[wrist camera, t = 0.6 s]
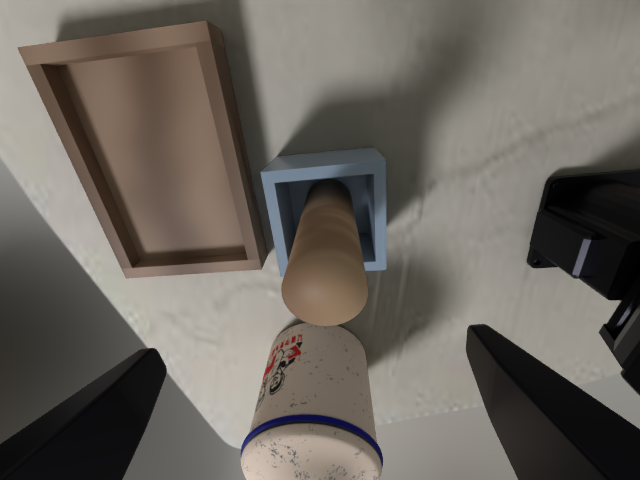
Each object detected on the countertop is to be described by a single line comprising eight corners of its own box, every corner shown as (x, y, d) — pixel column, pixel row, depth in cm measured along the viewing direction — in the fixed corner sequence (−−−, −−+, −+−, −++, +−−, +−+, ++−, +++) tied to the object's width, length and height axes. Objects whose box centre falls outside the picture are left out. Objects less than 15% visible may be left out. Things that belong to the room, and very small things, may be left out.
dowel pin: (350, 176, 18) (367, 251, 9) (353, 220, 19) (369, 324, 10) (303, 181, 18) (274, 258, 9) (309, 224, 20) (288, 328, 11)
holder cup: (374, 146, 18) (386, 160, 14) (375, 236, 20) (386, 269, 16) (276, 156, 18) (260, 172, 14) (290, 242, 21) (280, 276, 17)
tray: (220, 29, 16) (206, 20, 14) (267, 255, 22) (261, 269, 20) (52, 53, 16) (17, 47, 15) (142, 264, 22) (125, 278, 21)
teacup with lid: (286, 303, 23) (248, 465, 13) (386, 336, 25) (425, 511, 14) (248, 391, 29) (198, 560, 18) (332, 416, 30) (332, 588, 19)
